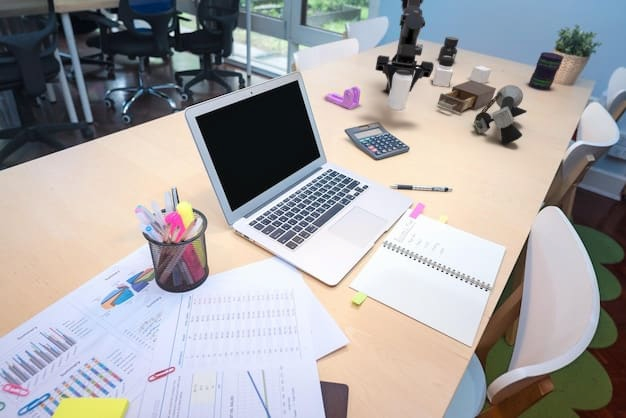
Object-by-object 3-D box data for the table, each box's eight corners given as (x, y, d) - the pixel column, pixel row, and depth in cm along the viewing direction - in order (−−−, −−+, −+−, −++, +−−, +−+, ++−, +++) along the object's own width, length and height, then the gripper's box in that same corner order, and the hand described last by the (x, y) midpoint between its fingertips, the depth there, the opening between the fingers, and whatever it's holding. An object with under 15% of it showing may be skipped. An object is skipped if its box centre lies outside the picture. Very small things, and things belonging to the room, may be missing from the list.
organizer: (473, 110, 158) (478, 95, 154) (448, 100, 164) (452, 86, 161) (491, 102, 167) (496, 88, 164) (466, 93, 174) (471, 80, 170)
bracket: (358, 105, 152) (361, 87, 148) (349, 109, 148) (352, 91, 144) (332, 95, 158) (334, 78, 154) (323, 98, 155) (325, 81, 150)
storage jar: (523, 83, 193) (536, 52, 184) (539, 83, 196) (552, 52, 187) (538, 90, 185) (552, 58, 176) (554, 90, 188) (568, 58, 179)
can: (407, 106, 137) (415, 71, 130) (402, 112, 132) (411, 77, 125) (389, 101, 139) (396, 67, 132) (384, 107, 134) (391, 72, 127)
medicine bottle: (448, 87, 179) (456, 60, 172) (433, 85, 180) (440, 58, 172) (447, 82, 184) (455, 56, 177) (432, 80, 185) (439, 54, 178)
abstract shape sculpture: (490, 126, 160) (479, 154, 137) (477, 99, 157) (464, 122, 134) (530, 110, 150) (526, 136, 128) (517, 80, 147) (511, 102, 125)
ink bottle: (456, 64, 210) (463, 41, 203) (440, 63, 210) (446, 39, 203) (451, 59, 218) (457, 36, 211) (435, 58, 218) (441, 35, 211)
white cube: (477, 78, 194) (481, 65, 190) (487, 82, 190) (491, 69, 186) (469, 79, 191) (473, 66, 188) (478, 83, 187) (482, 70, 184)
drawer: (454, 115, 149) (458, 105, 146) (431, 106, 155) (434, 96, 152) (478, 105, 160) (481, 95, 158) (455, 97, 166) (458, 87, 163)
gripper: (382, 29, 126) (374, 74, 124) (440, 36, 124) (433, 82, 122) (379, 48, 137) (371, 90, 135) (432, 55, 135) (426, 97, 133)
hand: (400, 89), depth 131 cm, fingers closed on can, 6 cm apart
